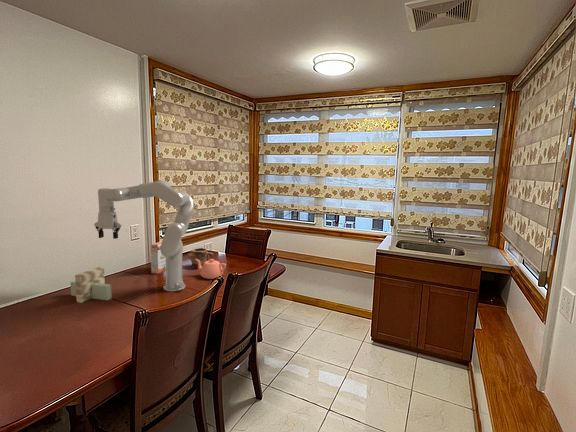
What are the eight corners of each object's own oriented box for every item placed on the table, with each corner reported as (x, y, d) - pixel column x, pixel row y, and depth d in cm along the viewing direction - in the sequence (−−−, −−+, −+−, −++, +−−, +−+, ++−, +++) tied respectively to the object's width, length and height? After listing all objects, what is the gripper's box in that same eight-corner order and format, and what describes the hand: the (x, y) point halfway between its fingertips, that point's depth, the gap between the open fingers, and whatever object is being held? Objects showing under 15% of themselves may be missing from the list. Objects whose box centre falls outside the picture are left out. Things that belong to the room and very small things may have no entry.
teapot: (190, 278, 203) (190, 261, 202) (200, 272, 218) (200, 255, 216) (222, 281, 200) (222, 263, 199) (229, 274, 215) (229, 257, 213)
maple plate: (101, 291, 178) (99, 266, 176) (105, 291, 177) (104, 267, 175) (76, 302, 163) (75, 275, 160) (81, 302, 162) (79, 275, 160)
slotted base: (111, 298, 169) (110, 284, 168) (107, 300, 166) (106, 286, 165) (76, 293, 174) (75, 280, 173) (71, 295, 171) (70, 281, 170)
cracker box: (158, 274, 210) (157, 245, 208) (150, 273, 212) (150, 244, 209) (170, 268, 224) (169, 240, 221) (163, 267, 225) (162, 240, 222)
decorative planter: (215, 265, 235) (215, 247, 233) (212, 270, 223) (212, 251, 221) (189, 264, 234) (189, 247, 232) (185, 269, 222) (184, 251, 220)
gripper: (124, 209, 180) (125, 237, 182) (98, 208, 183) (100, 236, 185) (115, 210, 173) (116, 240, 175) (88, 209, 175) (90, 238, 178)
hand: (108, 238), depth 180 cm, fingers open, 9 cm apart
